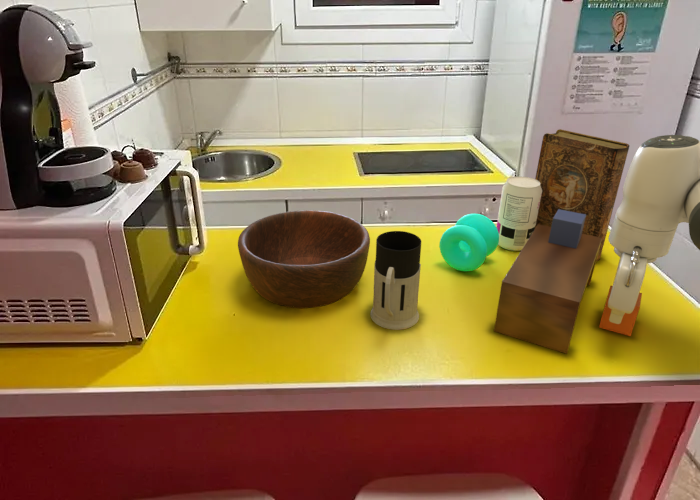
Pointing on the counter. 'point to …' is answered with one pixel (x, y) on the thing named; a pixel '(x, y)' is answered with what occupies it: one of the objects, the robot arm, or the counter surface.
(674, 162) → the robot arm
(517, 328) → the shelf
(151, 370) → the counter surface
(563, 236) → the slate-blue box
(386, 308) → the glass holder
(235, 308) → the counter surface
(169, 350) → the counter surface
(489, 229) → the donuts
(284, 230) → the wooden bowl
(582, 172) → the book
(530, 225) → the supplement can
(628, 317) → the orange box
